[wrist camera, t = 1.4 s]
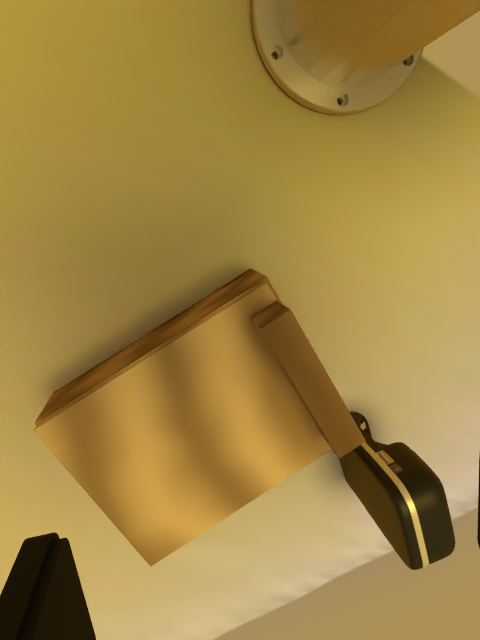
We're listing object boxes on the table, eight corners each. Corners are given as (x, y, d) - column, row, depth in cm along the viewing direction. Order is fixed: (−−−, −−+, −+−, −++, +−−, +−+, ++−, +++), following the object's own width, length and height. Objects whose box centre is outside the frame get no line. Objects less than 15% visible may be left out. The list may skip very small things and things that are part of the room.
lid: (262, 280, 28) (279, 290, 24) (347, 426, 31) (374, 456, 27) (38, 421, 27) (17, 456, 23) (150, 553, 31) (149, 603, 27)
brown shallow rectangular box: (250, 268, 33) (266, 276, 28) (325, 395, 37) (350, 421, 32) (53, 392, 32) (34, 422, 28) (148, 509, 36) (146, 553, 31)
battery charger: (384, 467, 39) (470, 563, 28) (345, 483, 39) (418, 586, 28) (367, 401, 37) (452, 476, 26) (326, 416, 37) (396, 499, 26)
